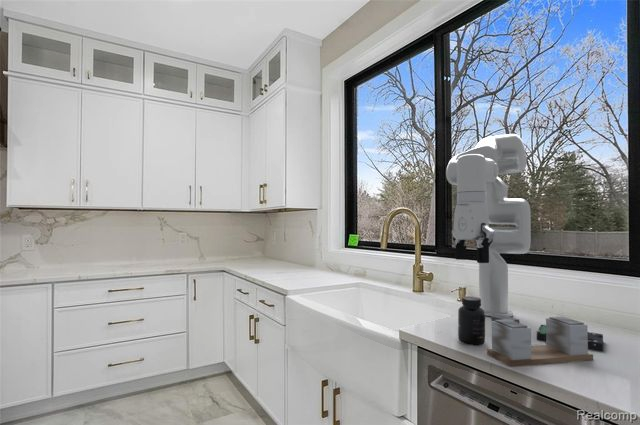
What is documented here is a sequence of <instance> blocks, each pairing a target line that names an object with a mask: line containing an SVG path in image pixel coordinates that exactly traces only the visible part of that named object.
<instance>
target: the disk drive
mask: <svg viewBox="0 0 640 425" xmlns="http://www.w3.org/2000/svg"><path fill="white" fill-rule="evenodd" d="M536 340H537V341H542V342H546V324H541V325H540V326H539V328H538V329H537V331H536ZM588 350H591V351H597V352H604V334H601V333H596V332H589V331H588Z"/></svg>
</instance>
